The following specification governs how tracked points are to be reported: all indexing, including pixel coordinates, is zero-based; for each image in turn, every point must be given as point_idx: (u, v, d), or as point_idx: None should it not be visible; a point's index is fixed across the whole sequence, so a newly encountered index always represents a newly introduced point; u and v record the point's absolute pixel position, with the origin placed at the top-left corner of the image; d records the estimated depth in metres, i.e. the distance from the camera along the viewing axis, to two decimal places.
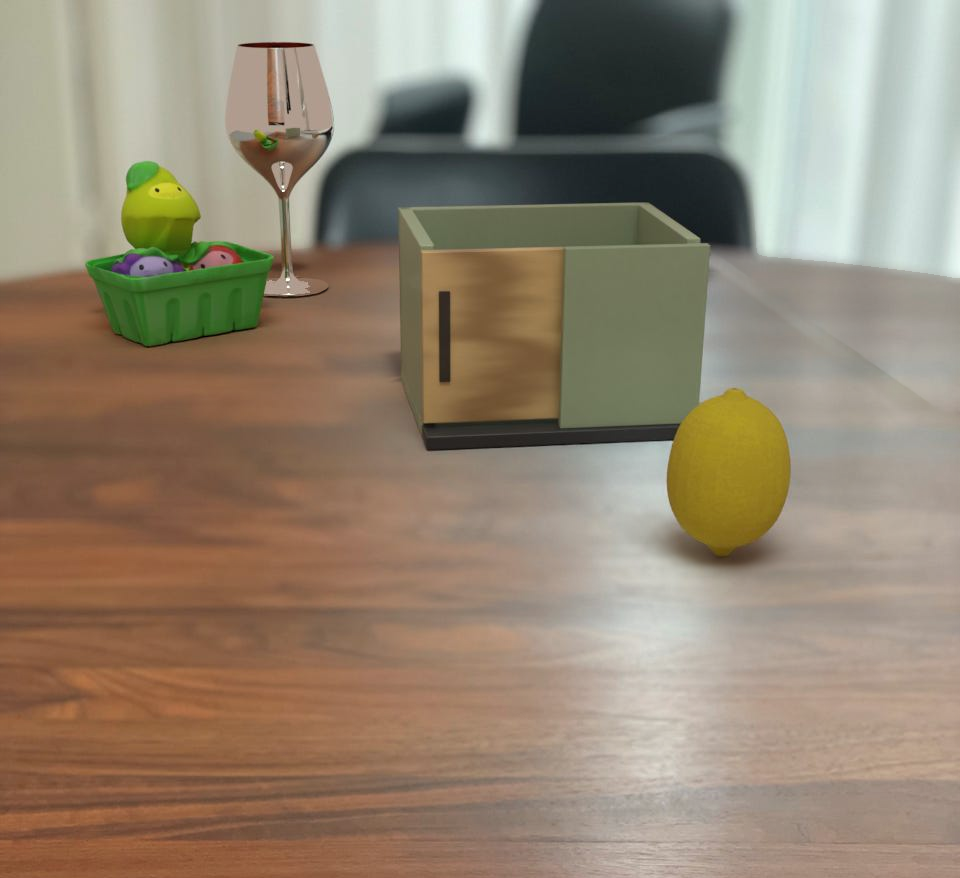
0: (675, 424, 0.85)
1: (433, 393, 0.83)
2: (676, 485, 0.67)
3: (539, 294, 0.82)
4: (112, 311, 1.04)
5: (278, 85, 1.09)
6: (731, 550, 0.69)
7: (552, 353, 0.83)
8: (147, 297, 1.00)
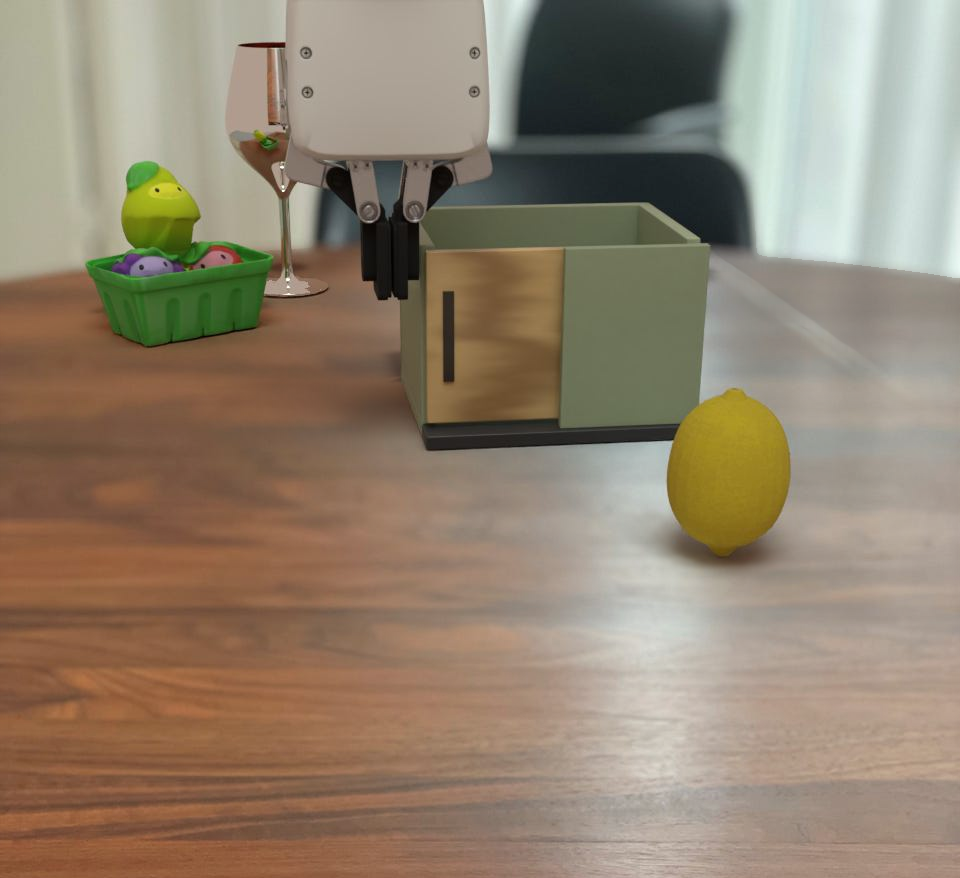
0: (675, 424, 0.85)
1: (437, 393, 0.83)
2: (676, 485, 0.67)
3: (543, 294, 0.82)
4: (112, 311, 1.04)
5: (278, 85, 1.09)
6: (731, 550, 0.69)
7: (556, 353, 0.83)
8: (147, 297, 1.00)
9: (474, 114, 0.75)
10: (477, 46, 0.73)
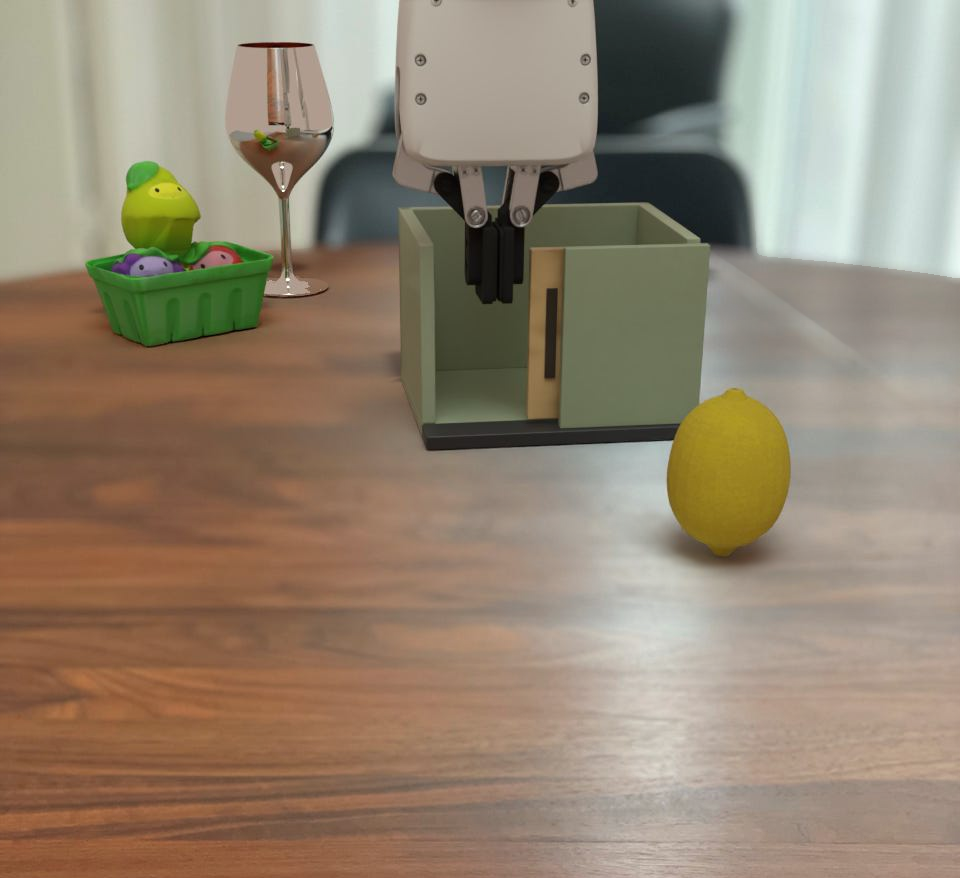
0: (675, 424, 0.85)
1: (538, 389, 0.84)
2: (676, 485, 0.67)
3: None
4: (112, 311, 1.04)
5: (278, 85, 1.09)
6: (731, 550, 0.69)
7: None
8: (147, 297, 1.00)
9: (583, 120, 0.76)
10: (588, 53, 0.74)
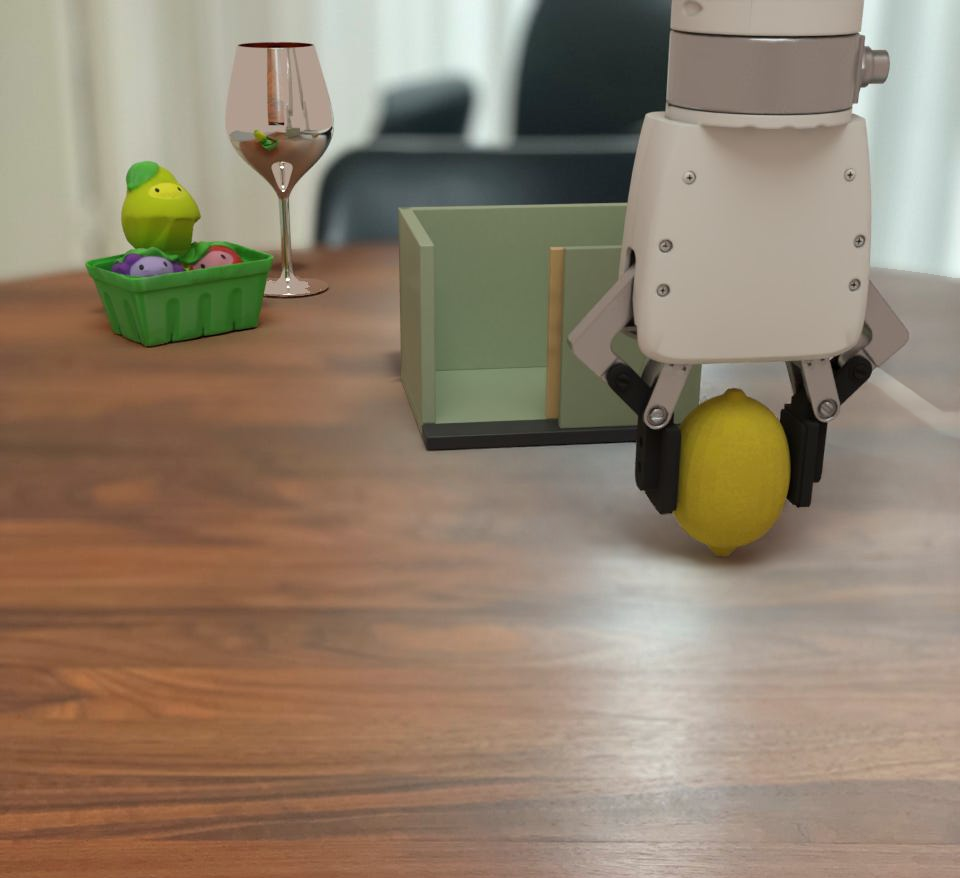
0: (675, 424, 0.85)
1: (557, 388, 0.84)
2: None
3: None
4: (112, 311, 1.04)
5: (278, 85, 1.09)
6: (731, 550, 0.69)
7: None
8: (147, 297, 1.00)
9: (851, 310, 0.63)
10: (863, 233, 0.62)
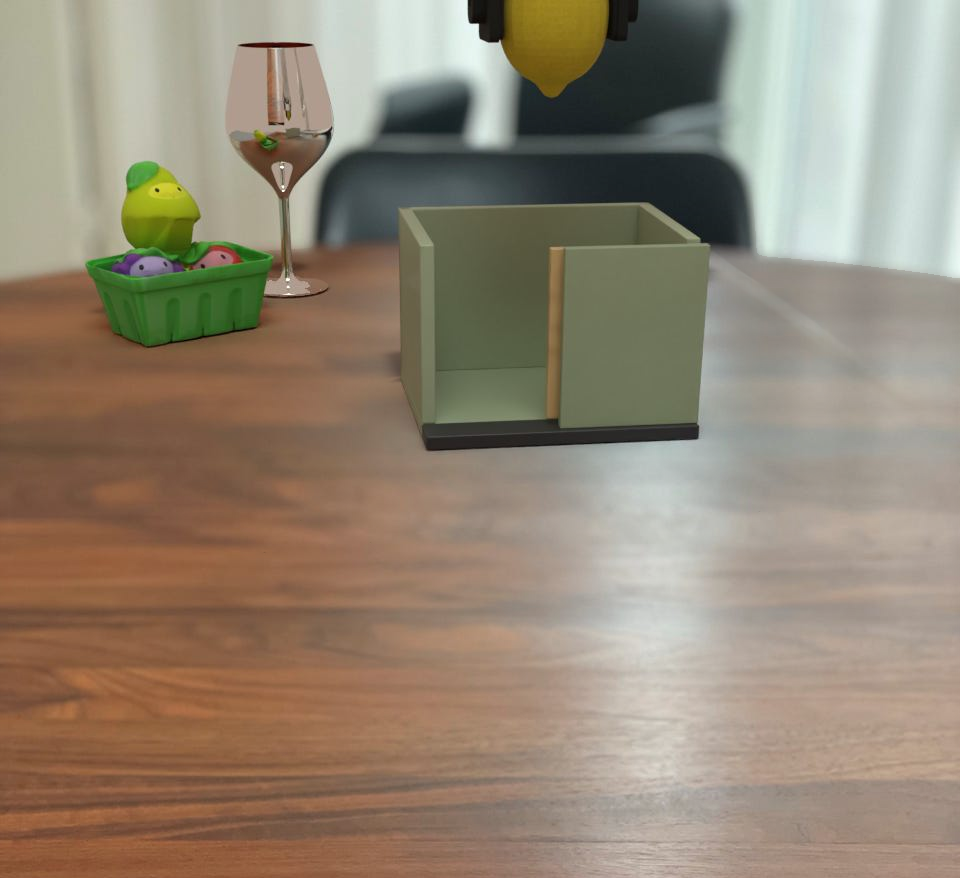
0: (675, 424, 0.85)
1: (557, 388, 0.84)
2: None
3: None
4: (112, 311, 1.04)
5: (278, 85, 1.09)
6: (558, 88, 0.75)
7: None
8: (147, 297, 1.00)
9: None
10: None
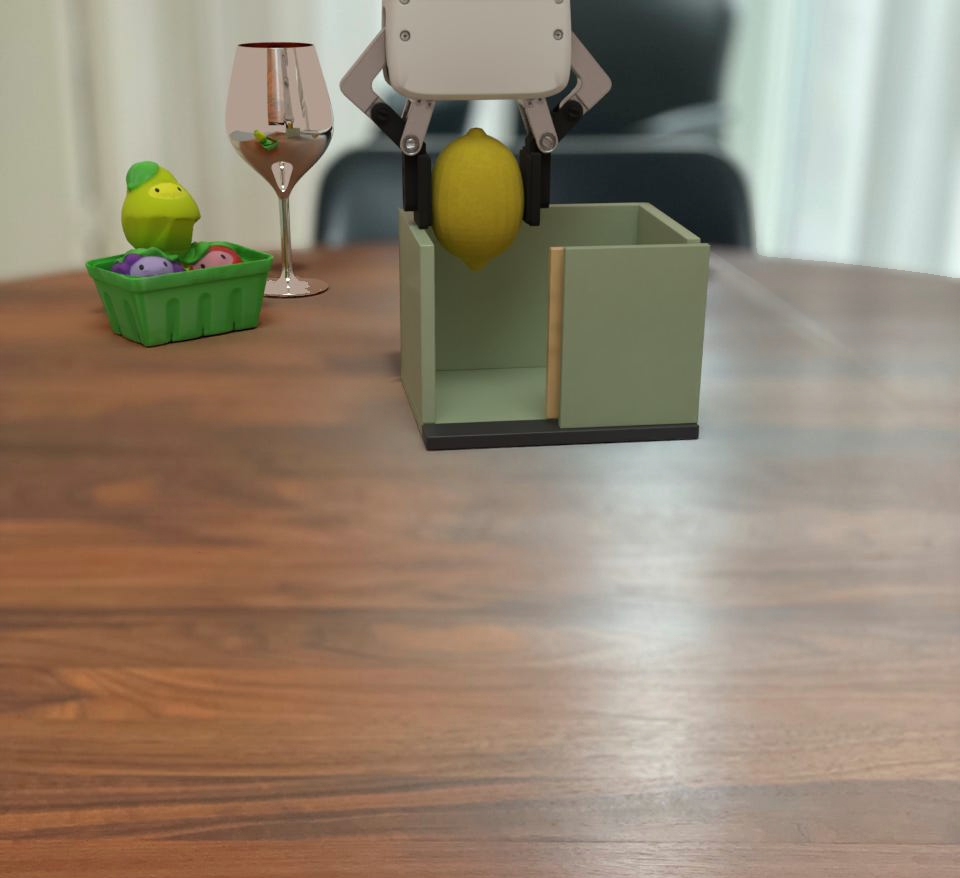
0: (675, 424, 0.85)
1: (557, 388, 0.84)
2: (432, 205, 0.85)
3: None
4: (112, 311, 1.04)
5: (278, 85, 1.09)
6: (481, 264, 0.87)
7: None
8: (147, 297, 1.00)
9: (557, 56, 0.81)
10: None
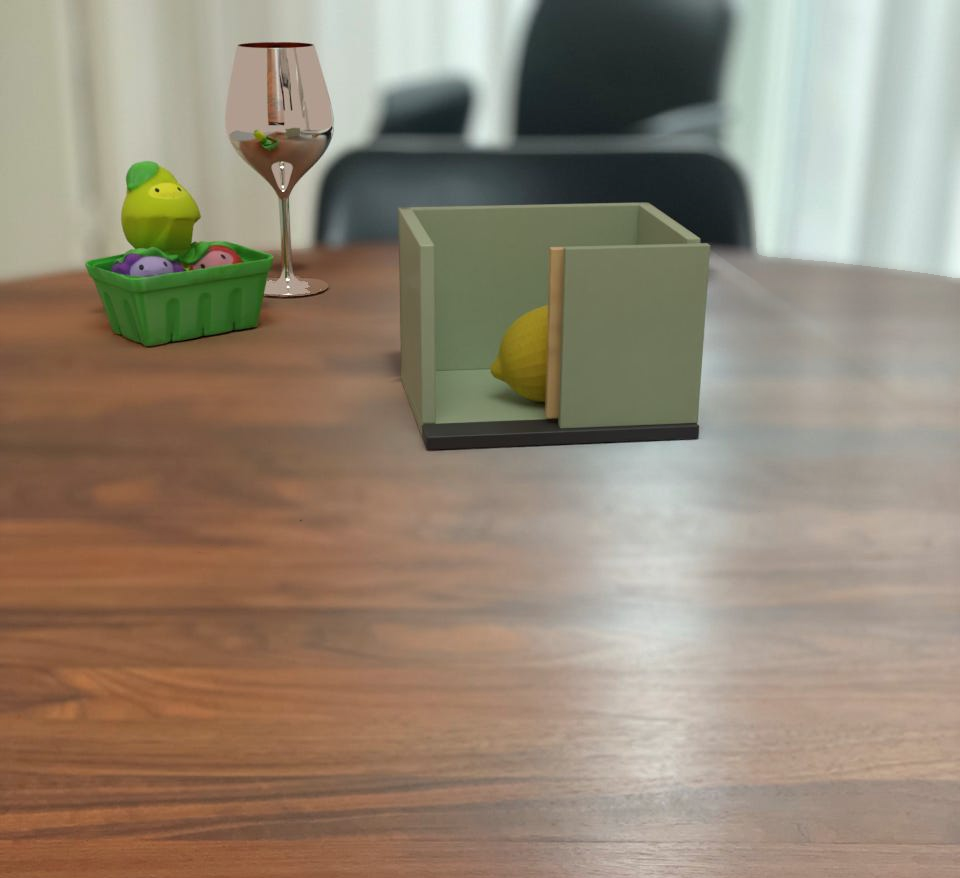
0: (675, 424, 0.85)
1: (557, 388, 0.84)
2: None
3: None
4: (112, 311, 1.04)
5: (278, 85, 1.09)
6: (501, 380, 0.88)
7: None
8: (147, 297, 1.00)
9: None
10: None
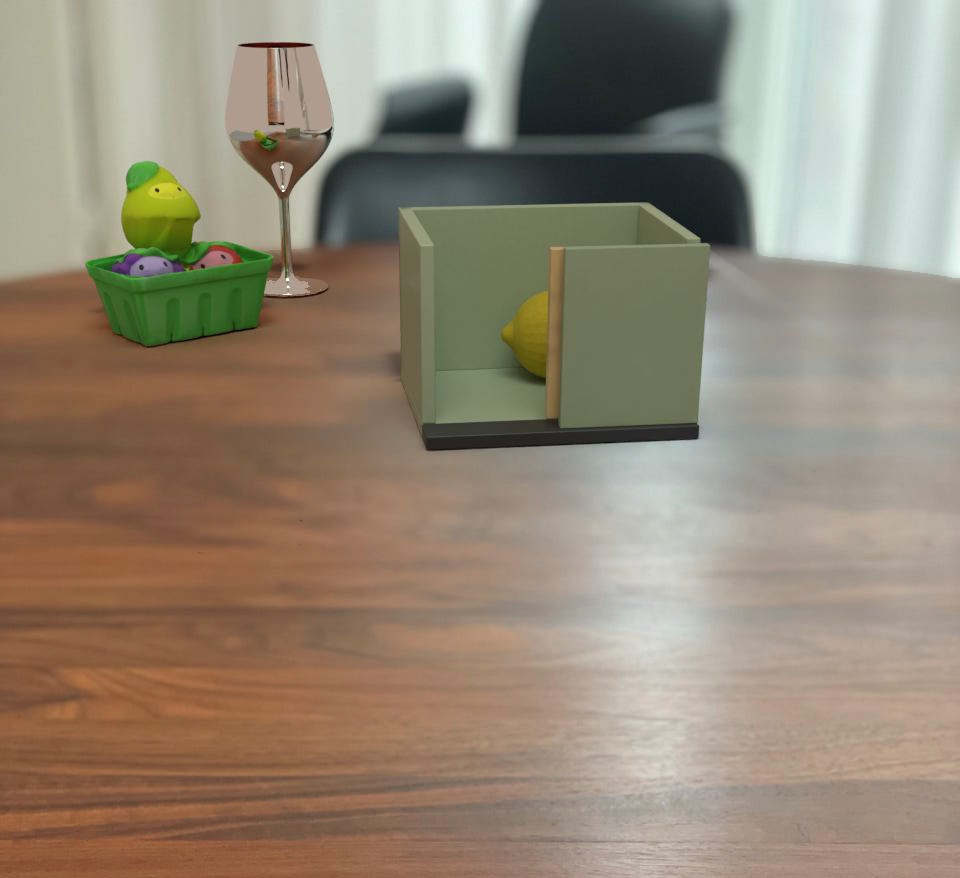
0: (675, 424, 0.85)
1: (557, 388, 0.84)
2: None
3: None
4: (112, 311, 1.04)
5: (278, 85, 1.09)
6: (510, 330, 0.91)
7: None
8: (147, 297, 1.00)
9: None
10: None
